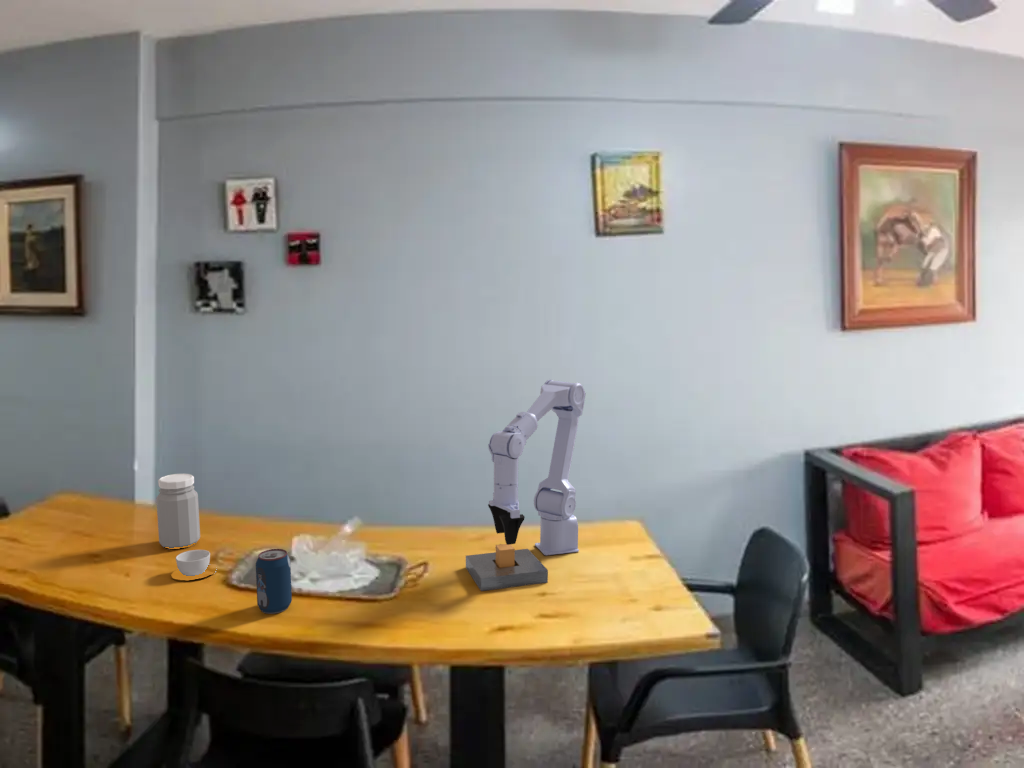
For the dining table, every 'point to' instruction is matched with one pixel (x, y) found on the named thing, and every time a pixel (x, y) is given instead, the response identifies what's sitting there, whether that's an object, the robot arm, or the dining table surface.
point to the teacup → (193, 562)
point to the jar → (177, 511)
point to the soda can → (273, 581)
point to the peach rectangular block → (505, 556)
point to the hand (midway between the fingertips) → (505, 538)
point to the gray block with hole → (506, 571)
